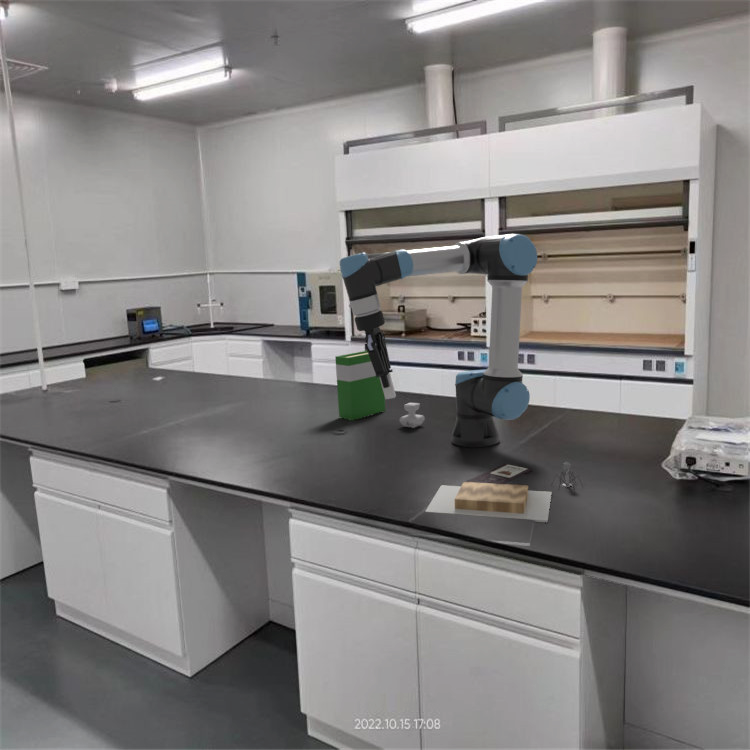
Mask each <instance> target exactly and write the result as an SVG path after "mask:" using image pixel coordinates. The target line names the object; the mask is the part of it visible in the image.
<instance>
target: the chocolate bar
mask: <svg viewBox="0 0 750 750" xmlns="http://www.w3.org/2000/svg"><path fill="white" fill-rule="evenodd" d="M532 472H533V469H531V468H526V467H521V466H517V465H512V464H507V463H502V464H500V465H499V466H496V467H493V468H491V469H489V470H487V471H486V472H483V473H481V474H478V475H477V476H474V477H473V478H471V479H469V480H466V481H465V482H476V483H493V484H508V483H509V482H511V481H513V480H515V479H517V478H518V477H521V476H522V475H528V474H531V473H532Z"/></svg>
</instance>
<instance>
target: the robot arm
mask: <svg viewBox="0 0 750 750" xmlns="http://www.w3.org/2000/svg"><path fill="white" fill-rule="evenodd" d="M537 262H538V252H537V248H536V246H535V243H533V242H532V241H531V239H530V238H529V237H528V236H526V235H524V234H520V233H507V234H506V233H505V234H499V235H487V236H483V237H482V236H481V237H479V238H475V239H471V240H464V241H458V242H456V243H455V244H454V245H450V246H441V247H430V248H429V247H428V248H420V249H408V250H406V249H402V248H401V249H397V250H396V249H395V250H393V251H388V252H377V253H366V252H364V251H363V252H359V253H356V254H351V255H348V256H344V257H343V258H341V259H340V260H339V268H340V273H341V277H342V280H343V284H344V286H345V289H346V293H347V296H348V300H349V304H348V307H349V308H350V309H351V312H352V314H353V316H355V317H354V323H355V326H356V330H357V331H358V332H364V333H365V338H364V340H365V342H366V343H365V344H364V348H365V349H366V350H365V351H367V352H368V354H369V357H370V360H371V363H372V365H373V368H374V371H375V374H376V377H379V378H380V381H381V385H382V389H383V392H384V396H385V400H390V399H395V398H396V397H397V394H396V390H395V387H394V383H393V378H392V377H391V373H393V369H392V367H391V363H390V357H389V352H388V347H387V343H386V334H385V333H384V332H383V331H381V328H380V327H382V326H384V325H385V323H386V322H385V317H384V314H383V311H382V310H380V309H381V308H382V306H381V302H380V299H379V298H380V297H379V296H378V291H377V288H376V287H380V286H382V285H385V284H389V283H392V282H395V281H399V280H403V279H404V278H407V277H408V278H409V277H417V276H423V275H424V276H426V275H433V274H435V275H436V274H442V273H445V274H446V273H453V272H455V273H457V274H460V275H466V274H477V275H486V277H487V279H486V280H487V282H488V283H489V285H490V286H491V288H492V289H491V308H490V309H491V310H490V329H489V330H490V331H489V349H488V351H489V352H488V355H489V356H488V367H487V368H486V369H474V370H466V371H462V372H459V373H457V374H456V375H455V384H454V386H455V404H456V409H455V410H456V420H455V422H454V427H453V428H452V429H453V430H452V432H451V442H452V444H454V445H456V446H460V447H465V448H485V447H490V446H491V447H492V446H494V445H497V444H498V443H499V442H500V432H499V429H498V427H497V425H496V422H495V418H496V419H499V420H506V421H511V420H516V419H518V418H519V417H521V416H522V414H523V413H525V411H526V410H527V408H528V406H529V403H530V398H531V397H530V395H531V394H530V391H529V389H528V386H526V385H525V384H524V383H523V375H524V374H523V373H522V372H521V371H520V369H519V367H518V366H519V352H520V335H521V333H520V332H521V313H522V312H521V311H522V296H523V295H522V292H523V287H524V286H525V285H526V284H527V283H528V279H529V274H530V273H532V272H533V271H534V269H535V268H536V266H537Z"/></svg>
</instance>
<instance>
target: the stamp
mask: <svg viewBox="0 0 750 750" xmlns="http://www.w3.org/2000/svg"><path fill="white" fill-rule="evenodd" d="M420 406H421V403H419V402H408V403H406V404H404V405H403V408H404V411H407V413H408V414H406V415H403V416H401V417H400V418H399V422H400V424H401V425H402V426H403V427H406V428H410V427H411V428H412V429H415V428H417V427H420V426H421V425H422V424H423V423H424V422H425V419H426V417H425V416H424V415H423V414H416V412H417V410H419V409H420Z"/></svg>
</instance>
